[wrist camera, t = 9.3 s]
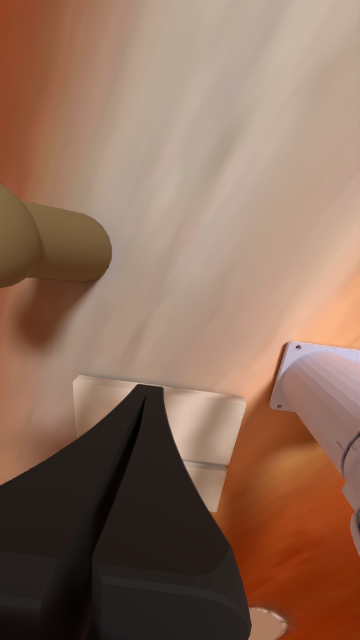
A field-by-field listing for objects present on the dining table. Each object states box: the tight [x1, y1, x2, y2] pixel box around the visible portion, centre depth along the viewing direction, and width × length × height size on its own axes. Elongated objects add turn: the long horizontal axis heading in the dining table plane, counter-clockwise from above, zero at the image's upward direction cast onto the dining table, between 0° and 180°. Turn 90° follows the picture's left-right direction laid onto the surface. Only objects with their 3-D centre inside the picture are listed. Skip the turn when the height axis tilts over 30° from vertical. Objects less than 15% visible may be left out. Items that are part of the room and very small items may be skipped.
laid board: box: [182, 459, 227, 512], centre depth 25 cm, size 18×8×1 cm, turn 83°
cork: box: [0, 184, 112, 288], centre depth 13 cm, size 6×6×11 cm
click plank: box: [73, 375, 246, 465], centre depth 22 cm, size 18×9×1 cm, turn 83°
